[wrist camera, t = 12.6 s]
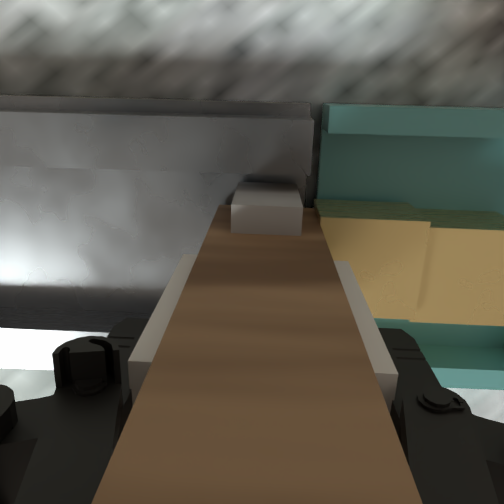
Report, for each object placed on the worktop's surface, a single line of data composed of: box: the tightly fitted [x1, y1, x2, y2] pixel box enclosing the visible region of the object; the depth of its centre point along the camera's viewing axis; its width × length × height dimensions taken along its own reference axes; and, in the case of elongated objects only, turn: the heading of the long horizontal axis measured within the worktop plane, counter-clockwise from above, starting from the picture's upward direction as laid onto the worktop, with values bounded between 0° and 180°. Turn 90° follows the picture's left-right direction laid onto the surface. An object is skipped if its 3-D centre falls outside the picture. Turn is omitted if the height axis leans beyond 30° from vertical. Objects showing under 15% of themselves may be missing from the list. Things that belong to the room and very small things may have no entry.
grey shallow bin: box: [0, 94, 314, 370], centre depth 21 cm, size 12×17×3 cm
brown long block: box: [91, 182, 423, 504], centre depth 12 cm, size 6×4×17 cm, turn 178°
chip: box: [313, 199, 431, 320], centre depth 19 cm, size 4×4×3 cm
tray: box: [316, 103, 504, 390], centre depth 20 cm, size 12×10×2 cm
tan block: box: [409, 208, 504, 326], centre depth 20 cm, size 4×4×3 cm
